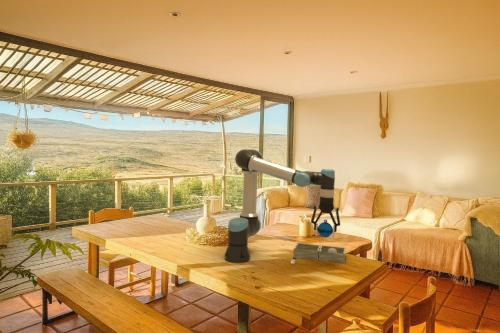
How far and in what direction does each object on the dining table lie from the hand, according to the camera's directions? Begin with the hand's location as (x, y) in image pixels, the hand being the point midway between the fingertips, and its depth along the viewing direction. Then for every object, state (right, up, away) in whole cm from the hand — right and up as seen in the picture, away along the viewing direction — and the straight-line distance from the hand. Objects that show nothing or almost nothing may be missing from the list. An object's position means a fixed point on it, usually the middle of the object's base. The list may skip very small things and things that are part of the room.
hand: (324, 236), depth 187 cm
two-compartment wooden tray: (0, -16, +15) cm, 22 cm away
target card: (-14, -16, +6) cm, 22 cm away
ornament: (0, 0, 0) cm, 0 cm away
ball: (+7, -15, +13) cm, 21 cm away
